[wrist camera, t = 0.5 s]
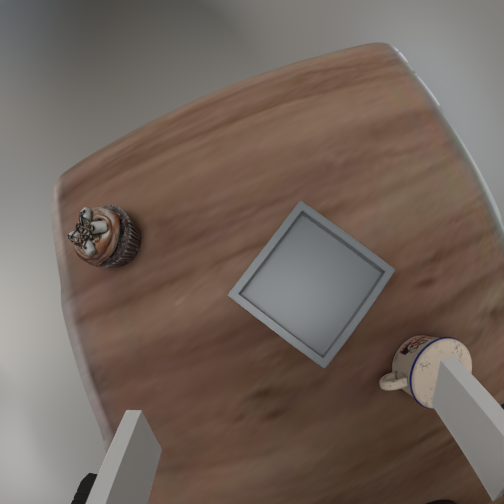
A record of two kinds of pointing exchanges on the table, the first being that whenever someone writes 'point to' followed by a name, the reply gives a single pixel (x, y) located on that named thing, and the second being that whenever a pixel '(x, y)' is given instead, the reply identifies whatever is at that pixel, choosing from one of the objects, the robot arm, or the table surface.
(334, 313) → the square tray
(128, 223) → the cupcake
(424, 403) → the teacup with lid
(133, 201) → the table surface
